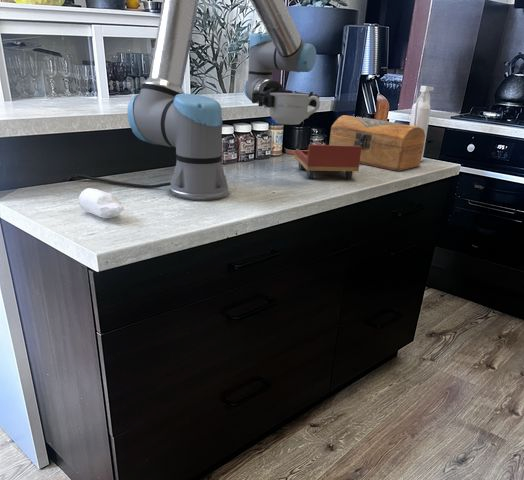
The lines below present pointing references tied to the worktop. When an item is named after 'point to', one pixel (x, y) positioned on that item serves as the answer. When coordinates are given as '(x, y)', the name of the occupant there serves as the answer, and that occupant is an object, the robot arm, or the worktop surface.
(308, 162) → the cart
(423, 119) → the white spray bottle
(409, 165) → the wooden box
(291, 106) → the teacup
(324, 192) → the worktop surface
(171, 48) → the robot arm
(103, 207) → the roll
